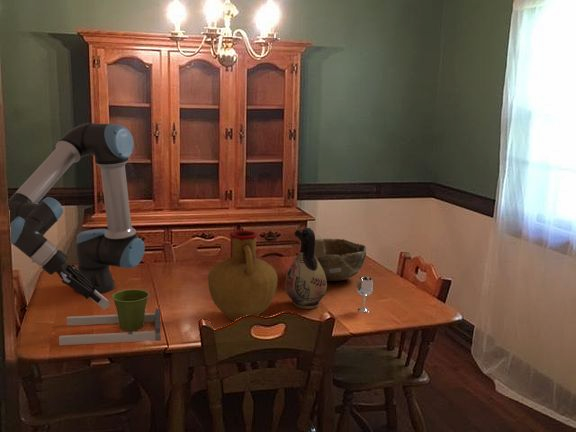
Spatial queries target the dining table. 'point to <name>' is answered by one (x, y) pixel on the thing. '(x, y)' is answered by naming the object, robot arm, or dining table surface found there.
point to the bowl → (339, 258)
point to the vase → (242, 279)
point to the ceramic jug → (306, 274)
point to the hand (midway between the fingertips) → (107, 306)
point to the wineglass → (364, 290)
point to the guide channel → (110, 337)
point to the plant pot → (131, 308)
